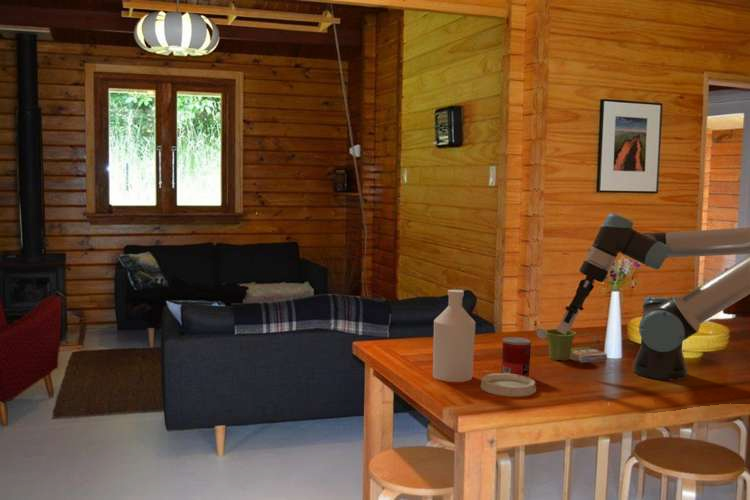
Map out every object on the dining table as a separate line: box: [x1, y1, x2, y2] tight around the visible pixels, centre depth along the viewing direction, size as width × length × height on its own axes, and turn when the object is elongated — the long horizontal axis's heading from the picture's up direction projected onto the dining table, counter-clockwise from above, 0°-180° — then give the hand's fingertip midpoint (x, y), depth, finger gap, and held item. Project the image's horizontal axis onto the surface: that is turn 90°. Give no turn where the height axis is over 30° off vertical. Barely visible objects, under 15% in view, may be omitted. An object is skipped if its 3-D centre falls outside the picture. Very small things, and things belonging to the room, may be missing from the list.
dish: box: [480, 372, 537, 398], centre depth 213 cm, size 15×15×2 cm
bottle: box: [432, 289, 476, 383], centre depth 222 cm, size 12×12×25 cm
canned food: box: [501, 336, 532, 378], centre depth 225 cm, size 8×8×11 cm
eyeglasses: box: [534, 325, 600, 342], centre depth 279 cm, size 15×18×4 cm
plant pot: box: [545, 328, 577, 362], centre depth 248 cm, size 9×9×9 cm
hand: (563, 330), depth 227 cm, fingers open, 13 cm apart
